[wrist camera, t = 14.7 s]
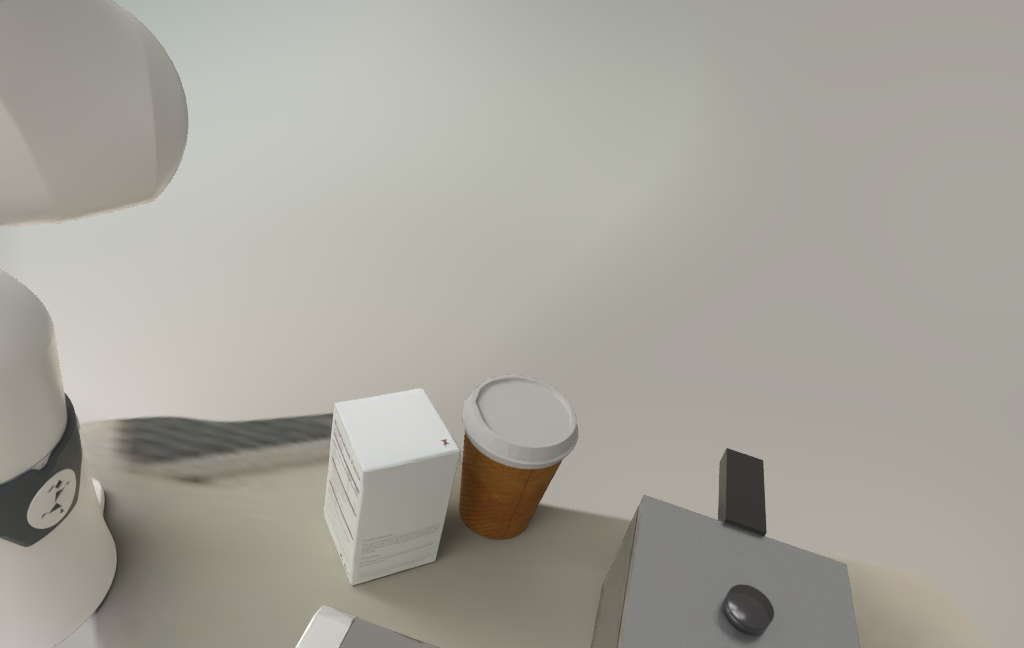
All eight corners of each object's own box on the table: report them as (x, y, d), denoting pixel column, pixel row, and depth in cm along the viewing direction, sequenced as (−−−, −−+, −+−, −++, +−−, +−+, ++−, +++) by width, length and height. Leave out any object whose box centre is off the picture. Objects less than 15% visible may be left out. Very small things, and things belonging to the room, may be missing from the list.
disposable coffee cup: (456, 459, 70) (480, 358, 64) (554, 489, 70) (588, 390, 63) (426, 535, 62) (450, 429, 56) (537, 569, 62) (574, 467, 55)
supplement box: (404, 496, 65) (426, 384, 58) (437, 563, 60) (464, 451, 53) (320, 515, 62) (332, 399, 55) (347, 589, 57) (363, 472, 50)
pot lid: (611, 687, 43) (622, 666, 42) (649, 438, 62) (657, 419, 61) (869, 784, 42) (888, 764, 41) (827, 498, 61) (839, 479, 60)
